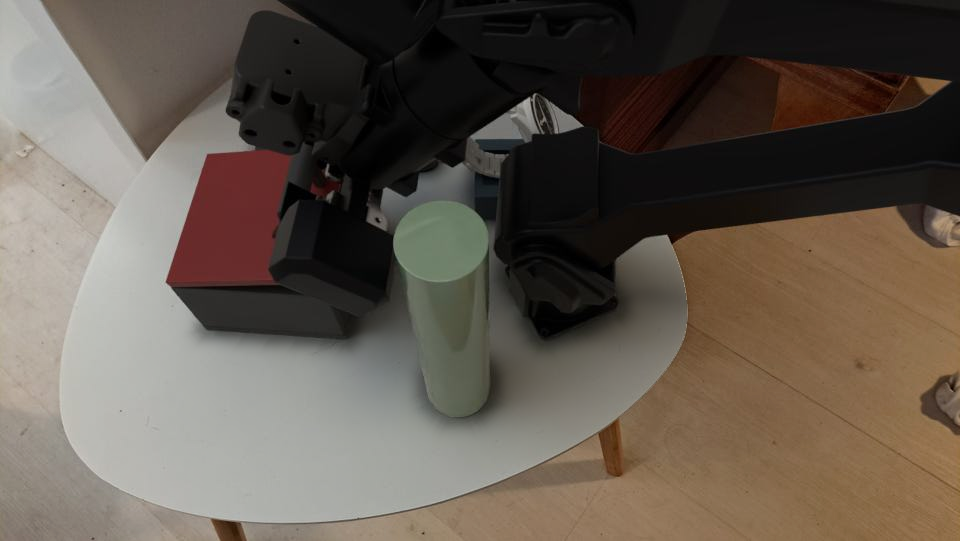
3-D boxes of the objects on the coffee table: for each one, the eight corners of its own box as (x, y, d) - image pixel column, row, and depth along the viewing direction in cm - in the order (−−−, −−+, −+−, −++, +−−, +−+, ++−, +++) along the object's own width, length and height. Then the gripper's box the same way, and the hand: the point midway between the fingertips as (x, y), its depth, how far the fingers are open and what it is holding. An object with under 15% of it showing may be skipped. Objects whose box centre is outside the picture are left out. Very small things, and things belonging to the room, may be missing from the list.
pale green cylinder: (474, 348, 52) (465, 186, 34) (500, 402, 50) (505, 259, 33) (417, 372, 51) (378, 219, 34) (441, 428, 49) (414, 296, 32)
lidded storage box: (367, 218, 57) (353, 167, 52) (345, 339, 52) (327, 298, 47) (239, 211, 58) (211, 159, 52) (205, 329, 53) (170, 287, 47)
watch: (554, 219, 57) (567, 128, 48) (452, 219, 57) (445, 128, 48) (551, 162, 60) (563, 65, 50) (454, 162, 60) (447, 65, 50)
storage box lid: (358, 150, 50) (335, 107, 46) (331, 284, 45) (303, 248, 41) (211, 159, 52) (178, 119, 48) (170, 287, 47) (130, 254, 43)
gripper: (335, -137, 36) (206, 30, 47) (247, 164, 27) (113, 286, 38) (497, -6, 42) (351, 115, 53) (469, 274, 33) (300, 352, 44)
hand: (287, 203), depth 47 cm, fingers closed on storage box lid, 5 cm apart
